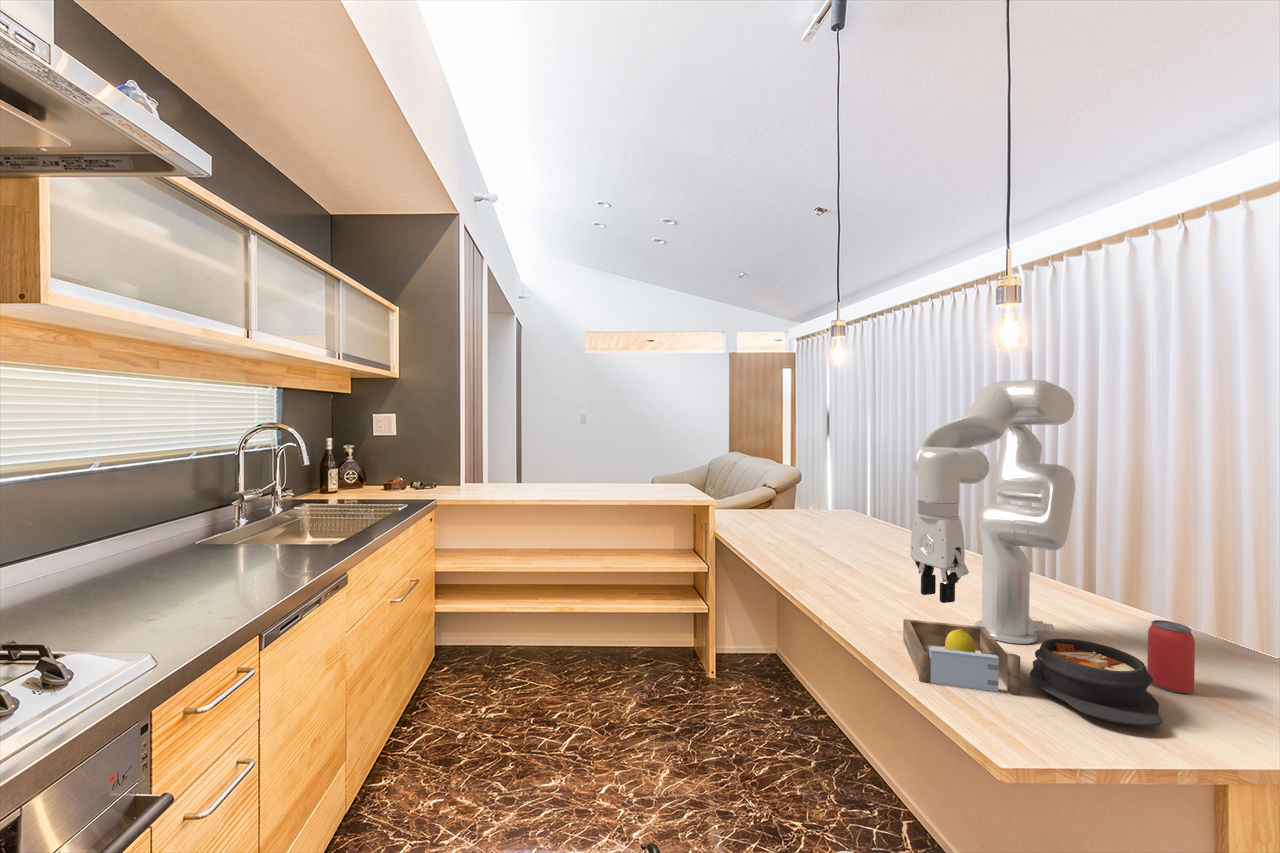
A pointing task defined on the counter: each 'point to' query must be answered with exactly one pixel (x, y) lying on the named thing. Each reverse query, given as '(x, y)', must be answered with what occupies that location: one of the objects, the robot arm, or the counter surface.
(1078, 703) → the casserole
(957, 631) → the lemon
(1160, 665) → the beer can
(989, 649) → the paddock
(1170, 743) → the counter surface
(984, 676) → the gate
